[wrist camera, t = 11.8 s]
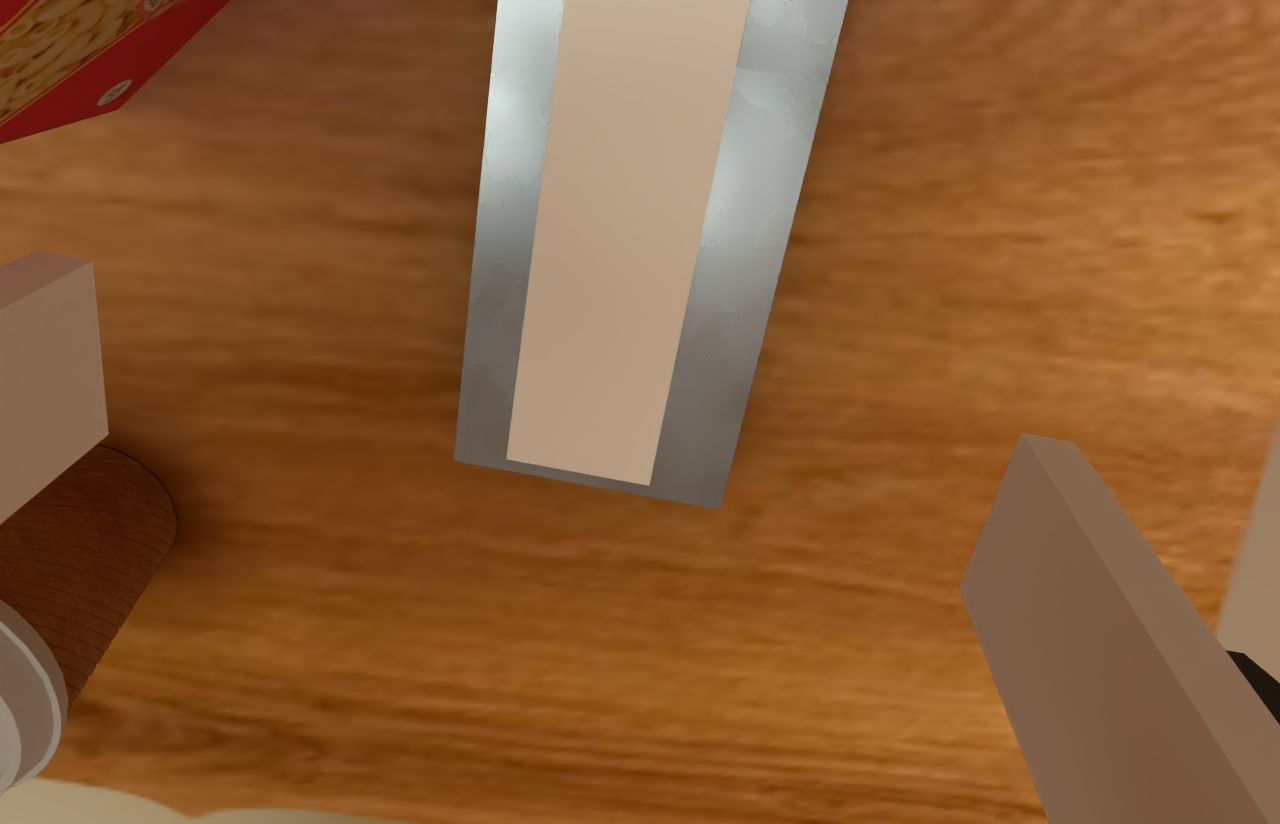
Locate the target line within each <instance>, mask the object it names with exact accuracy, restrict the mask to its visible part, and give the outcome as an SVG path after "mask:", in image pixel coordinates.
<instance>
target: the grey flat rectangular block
mask: <svg viewBox="0 0 1280 824" xmlns="http://www.w3.org/2000/svg"><path fill="white" fill-rule="evenodd" d="M847 3H848V0H750V3H749V8H748V13H747V17H746V22H745V27H744V32H743V37H742V42H741V46H740V51H739V56H738V61H737V66H736V70H735V75H734V80H733V85H732V90H731V94H730V99H729V104H728V109H727V114H726V119H725V123H724V128H723V133H722V138H721V143H720V147H719V152H718V157H717V162H716V167H715V172H714V176H713V181H712V186H711V191H710V196H709V200H708V205H707V210H706V215H705V220H704V225H703V229H702V234H701V239H700V244H699V249H698V253H697V258H696V263H695V268H694V273H693V277H692V282H691V287H690V292H689V297H688V302H687V306H686V311H685V316H684V321H683V326H682V330H681V335H680V340H679V345H678V350H677V355H676V359H675V364H674V369H673V374H672V379H671V383H670V388H669V393H668V398H667V403H666V408H665V412H664V417H663V422H662V427H661V432H660V436H659V441H658V446H657V451H656V456H655V460H654V465H653V470H652V475H651V480H650V485H649V486H648V485H642V484H637V483H632V482H626V481H621V480H616V479H610V478H605V477H599V476H594V475H589V474H583V473H578V472H572V471H567V470H562V469H556V468H551V467H545V466H540V465H535V464H529V463H524V462H519V461H513V460H508V459H506V458H507V450H508V442H509V434H510V426H511V418H512V410H513V402H514V394H515V386H516V378H517V370H518V362H519V354H520V346H521V338H522V330H523V322H524V315H525V307H526V299H527V291H528V283H529V275H530V267H531V259H532V251H533V243H534V235H535V227H536V219H537V211H538V203H539V195H540V187H541V179H542V171H543V164H544V156H545V148H546V140H547V132H548V124H549V116H550V108H551V100H552V92H553V84H554V76H555V68H556V60H557V52H558V44H559V36H560V28H561V21H562V13H563V5H564V0H498V6H497V16H496V26H495V37H494V47H493V57H492V68H491V78H490V88H489V99H488V109H487V119H486V130H485V140H484V150H483V161H482V171H481V181H480V192H479V202H478V212H477V223H476V233H475V243H474V254H473V264H472V274H471V285H470V295H469V305H468V316H467V326H466V336H465V347H464V357H463V367H462V378H461V388H460V398H459V409H458V419H457V429H456V440H455V450H454V460H453V461H457V462H462V463H468V464H473V465H479V466H484V467H489V468H495V469H500V470H506V471H511V472H516V473H522V474H527V475H533V476H538V477H543V478H549V479H554V480H560V481H565V482H571V483H576V484H581V485H587V486H592V487H598V488H603V489H608V490H614V491H619V492H625V493H630V494H635V495H641V496H646V497H652V498H657V499H662V500H668V501H673V502H679V503H684V504H689V505H695V506H700V507H706V508H711V509H716V510H720V509H721V506H722V502H723V498H724V494H725V490H726V486H727V482H728V478H729V474H730V470H731V466H732V462H733V458H734V454H735V450H736V446H737V442H738V438H739V434H740V430H741V426H742V422H743V418H744V414H745V410H746V406H747V402H748V398H749V394H750V390H751V386H752V382H753V378H754V374H755V370H756V366H757V362H758V358H759V354H760V350H761V346H762V342H763V338H764V334H765V330H766V326H767V322H768V318H769V314H770V310H771V306H772V302H773V298H774V294H775V290H776V286H777V282H778V278H779V274H780V270H781V266H782V262H783V258H784V254H785V250H786V246H787V242H788V238H789V234H790V230H791V226H792V222H793V218H794V214H795V210H796V206H797V202H798V199H799V195H800V191H801V187H802V183H803V179H804V175H805V171H806V167H807V163H808V159H809V155H810V151H811V147H812V143H813V139H814V135H815V131H816V127H817V123H818V119H819V115H820V111H821V107H822V103H823V99H824V95H825V91H826V87H827V83H828V79H829V75H830V71H831V67H832V63H833V59H834V55H835V51H836V47H837V43H838V39H839V35H840V31H841V27H842V23H843V19H844V15H845V11H846V7H847Z"/></svg>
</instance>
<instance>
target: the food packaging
mask: <svg viewBox="0 0 1280 824" xmlns="http://www.w3.org/2000/svg"><path fill="white" fill-rule="evenodd" d="M228 1H229V0H0V144H2V143H5V142H9V141H12V140H16V139H19V138H22V137H26V136H29V135H33V134H36V133H40V132H43V131H46V130H50V129H53V128H57V127H60V126H64V125H67V124H70V123H74V122H77V121H81V120H84V119H87V118H91V117H94V116H98V115H101V114H105V113H108V112H111V111H115V110H117V109H118V108H119V107H120V106H121V105H122V104H123V103H125V102H126V101H127V100H128V99H129V98H130V97H131V96H132V95H133V94H134V93H135V92H136V91H137V90H138V89H139V88H140V87H141V86H142V85H143V84H144V83H145V82H146V81H147V80H148V79H149V78H150V77H151V76H152V75H153V74H154V73H155V72H156V71H157V70H158V69H159V68H161V67H162V66H163V65H164V64H165V63H166V62H167V61H168V60H169V59H170V58H171V57H172V56H173V55H174V54H175V53H176V52H177V51H178V50H179V49H180V48H181V47H182V46H183V45H184V44H185V43H186V42H187V41H188V40H189V39H190V38H191V37H192V36H193V35H194V34H195V33H196V32H198V31H199V30H200V29H201V28H202V27H203V26H204V25H205V24H206V23H207V22H208V21H209V20H210V19H211V18H212V17H213V16H214V15H215V14H216V13H217V12H218V11H219V10H220V9H221V8H222V7H223V6H224V5H225V4H226V3H227V2H228Z"/></svg>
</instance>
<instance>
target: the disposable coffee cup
mask: <svg viewBox="0 0 1280 824" xmlns="http://www.w3.org/2000/svg"><path fill="white" fill-rule="evenodd" d="M176 532H177V520H176V515H175V510H174V507H173V505H172V502H171V500H170V498H169V496H168V494H167V493H166V491H165V490H164V488H163V487H162V485H161V484H160V483H159V481H158V480H157V479H156V478H155V477H154V476H153V475H152V474H151V473H150V472H149V471H148V470H147V469H146V468H144V467H143V466H142V465H141V464H139V463H138V462H136V461H135V460H133V459H131V458H130V457H128V456H126V455H124V454H122V453H120V452H118V451H115V450H113V449H110V448H106V447H102V446H97V445H95V446H94V447H93V448H92V449H90V450H89V451H88V452H87V453H86V454H84V455H83V456H82V457H81V458H80V459H78V460H77V461H76V462H75V463H74V464H72V465H71V466H70V467H69V468H68V469H66V470H65V471H64V472H63V473H61V474H60V475H59V476H58V477H57V478H55V479H54V480H53V481H52V482H51V483H49V484H48V485H47V486H46V487H45V488H43V489H42V490H41V491H40V492H39V493H37V494H36V495H35V496H34V497H33V498H31V499H30V500H29V501H28V502H27V503H25V504H24V505H23V506H22V507H21V508H19V509H18V510H17V511H16V512H15V513H13V514H12V515H11V516H10V517H9V518H7V519H6V520H5V521H4V522H3V523H1V524H0V795H1V794H3V793H4V792H5V791H6V790H8V789H9V788H11V787H14V786H17V785H19V784H21V783H23V782H25V781H27V780H29V779H30V778H32V777H34V776H35V775H36V774H38V773H39V772H40V771H41V770H42V769H43V768H44V767H46V766H47V764H48V763H49V761H50V760H51V758H52V757H53V755H54V753H55V752H56V750H57V749H58V747H59V746H60V742H61V737H62V731H63V727H64V725H65V722H66V720H67V712H68V711H69V709H70V708H71V707H72V705H71V703H73V702H74V701H75V700H76V698H77V697H78V695H79V694H80V692H81V691H80V690H81V689H83V687H84V685H85V684H86V682H87V680H88V676H90V675H92V673H93V671H94V669H95V667H96V664H97V663H99V662H100V660H101V658H102V656H103V655H104V651H106V650H107V649H108V647H109V645H110V644H111V642H112V641H111V640H112V639H114V637H115V635H116V634H117V632H118V630H119V629H118V628H121V626H122V624H123V623H124V621H125V619H126V616H128V615H129V614H130V612H131V610H132V608H133V607H132V606H134V605H135V604H136V602H137V600H138V599H139V597H140V596H139V595H141V594H142V593H143V591H144V589H145V587H146V585H148V583H149V581H150V580H151V578H152V575H154V573H155V572H156V570H157V568H158V567H159V566H158V565H160V564H161V562H162V560H163V559H164V557H165V555H166V554H167V553H168V552H169V550H170V548H171V547H172V545H173V543H174V540H175V536H176Z"/></svg>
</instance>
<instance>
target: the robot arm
mask: <svg viewBox="0 0 1280 824" xmlns="http://www.w3.org/2000/svg"><path fill="white" fill-rule="evenodd" d="M108 434H109V433H108V422H107V411H106V400H105V389H104V378H103V367H102V356H101V345H100V334H99V323H98V312H97V301H96V290H95V279H94V268H93V261H91V260H85V259H80V258H75V257H69V256H64V255H58V254H53V253H48V252H42V251H36V252H34V253H31V254H29V255H27V256H25V257H23V258H21V259H19V260H17V261H14V262H12V263H10V264H8V265H6V266H4V267H2V268H0V524H1V523H3V522H4V521H5V520H6V519H7V518H9V517H10V516H11V515H12V514H13V513H15V512H16V511H17V510H18V509H19V508H21V507H22V506H23V505H24V504H25V503H27V502H28V501H29V500H30V499H31V498H33V497H34V496H35V495H36V494H37V493H39V492H40V491H41V490H42V489H43V488H45V487H46V486H47V485H48V484H49V483H51V482H52V481H53V480H54V479H55V478H57V477H58V476H59V475H60V474H61V473H63V472H64V471H65V470H66V469H68V468H69V467H70V466H71V465H72V464H74V463H75V462H76V461H77V460H78V459H80V458H81V457H82V456H83V455H84V454H86V453H87V452H88V451H89V450H90V449H92V448H93V447H94V446H95V445H96V444H98V443H99V442H100V441H101V440H102V439H104V438H105V437H106V436H107V435H108ZM959 590H960V593H961V595H962V598H963V600H964V603H965V606H966V608H967V611H968V613H969V616H970V619H971V621H972V624H973V626H974V629H975V632H976V634H977V637H978V639H979V642H980V645H981V647H982V650H983V652H984V655H985V658H986V660H987V663H988V665H989V668H990V671H991V673H992V676H993V678H994V681H995V683H996V686H997V689H998V691H999V694H1000V696H1001V699H1002V702H1003V704H1004V707H1005V709H1006V712H1007V715H1008V717H1009V720H1010V722H1011V725H1012V728H1013V730H1014V733H1015V735H1016V738H1017V741H1018V743H1019V746H1020V748H1021V751H1022V754H1023V756H1024V759H1025V761H1026V764H1027V767H1028V769H1029V772H1030V774H1031V777H1032V780H1033V782H1034V785H1035V787H1036V790H1037V793H1038V795H1039V798H1040V800H1041V803H1042V806H1043V808H1044V811H1045V813H1046V816H1047V818H1048V821H1049V824H1280V683H1279V682H1278V681H1276V680H1275V679H1274V678H1273V677H1272V676H1270V675H1269V674H1268V673H1267V672H1266V671H1264V670H1263V669H1262V668H1261V667H1259V666H1258V665H1257V664H1256V663H1255V662H1253V661H1252V660H1251V659H1250V658H1248V657H1247V656H1246V655H1245V654H1243V653H1238V652H1233V651H1227V650H1225V649H1224V648H1223V646H1222V645H1221V644H1220V642H1219V641H1218V639H1217V638H1216V637H1215V635H1214V634H1213V632H1212V631H1211V630H1210V628H1209V627H1208V626H1207V624H1206V623H1205V621H1204V620H1203V619H1202V617H1201V616H1200V615H1199V613H1198V612H1197V610H1196V609H1195V608H1194V606H1193V605H1192V604H1191V602H1190V601H1189V599H1188V598H1187V597H1186V595H1185V594H1184V592H1183V591H1182V590H1181V588H1180V587H1179V586H1178V584H1177V583H1176V581H1175V580H1174V579H1173V577H1172V576H1171V575H1170V573H1169V572H1168V570H1167V569H1166V568H1165V566H1164V565H1163V564H1162V562H1161V561H1160V559H1159V558H1158V557H1157V555H1156V554H1155V552H1154V551H1153V550H1152V548H1151V547H1150V546H1149V544H1148V543H1147V541H1146V540H1145V539H1144V537H1143V536H1142V535H1141V533H1140V532H1139V530H1138V529H1137V528H1136V526H1135V525H1134V524H1133V522H1132V521H1131V519H1130V518H1129V517H1128V515H1127V514H1126V512H1125V511H1124V510H1123V508H1122V507H1121V506H1120V504H1119V503H1118V501H1117V500H1116V499H1115V497H1114V496H1113V495H1112V493H1111V492H1110V490H1109V489H1108V488H1107V486H1106V485H1105V484H1104V482H1103V481H1102V479H1101V478H1100V477H1099V475H1098V474H1097V472H1096V471H1095V470H1094V468H1093V467H1092V466H1091V464H1090V463H1089V461H1088V460H1087V459H1086V457H1085V456H1084V455H1083V453H1082V452H1081V450H1080V449H1079V448H1078V446H1077V445H1076V444H1075V442H1070V441H1064V440H1059V439H1054V438H1048V437H1043V436H1037V435H1032V434H1027V433H1021V435H1020V438H1019V440H1018V443H1017V445H1016V448H1015V450H1014V453H1013V455H1012V458H1011V460H1010V463H1009V465H1008V468H1007V470H1006V473H1005V475H1004V478H1003V480H1002V483H1001V485H1000V488H999V490H998V492H997V495H996V497H995V500H994V502H993V505H992V507H991V510H990V512H989V515H988V517H987V520H986V522H985V525H984V527H983V530H982V532H981V535H980V537H979V540H978V542H977V545H976V547H975V550H974V552H973V555H972V557H971V560H970V562H969V565H968V567H967V569H966V572H965V574H964V577H963V579H962V582H961V584H960V587H959Z"/></svg>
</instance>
